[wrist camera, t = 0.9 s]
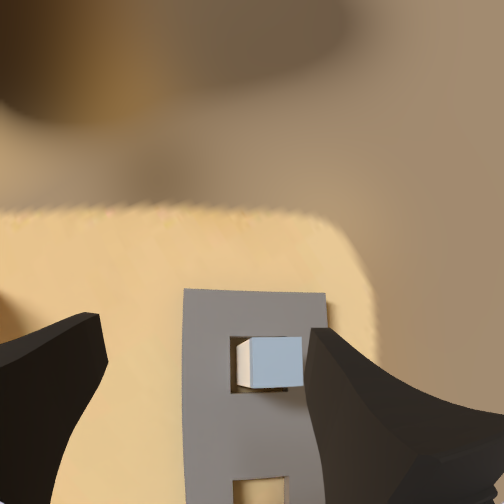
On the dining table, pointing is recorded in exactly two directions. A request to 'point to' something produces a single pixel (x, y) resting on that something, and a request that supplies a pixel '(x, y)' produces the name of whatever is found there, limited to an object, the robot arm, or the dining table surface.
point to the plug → (269, 362)
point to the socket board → (245, 398)
